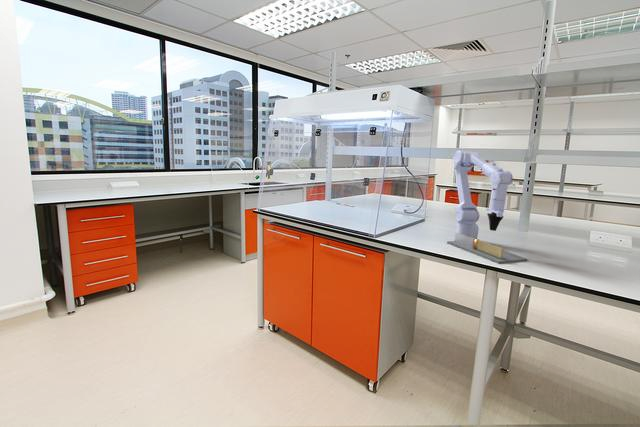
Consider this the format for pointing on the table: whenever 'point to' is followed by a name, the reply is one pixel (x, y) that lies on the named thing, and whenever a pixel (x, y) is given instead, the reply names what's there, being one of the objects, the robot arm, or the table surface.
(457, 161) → the robot arm
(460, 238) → the fixed leaf
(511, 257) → the board
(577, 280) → the table surface
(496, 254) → the swing leaf
